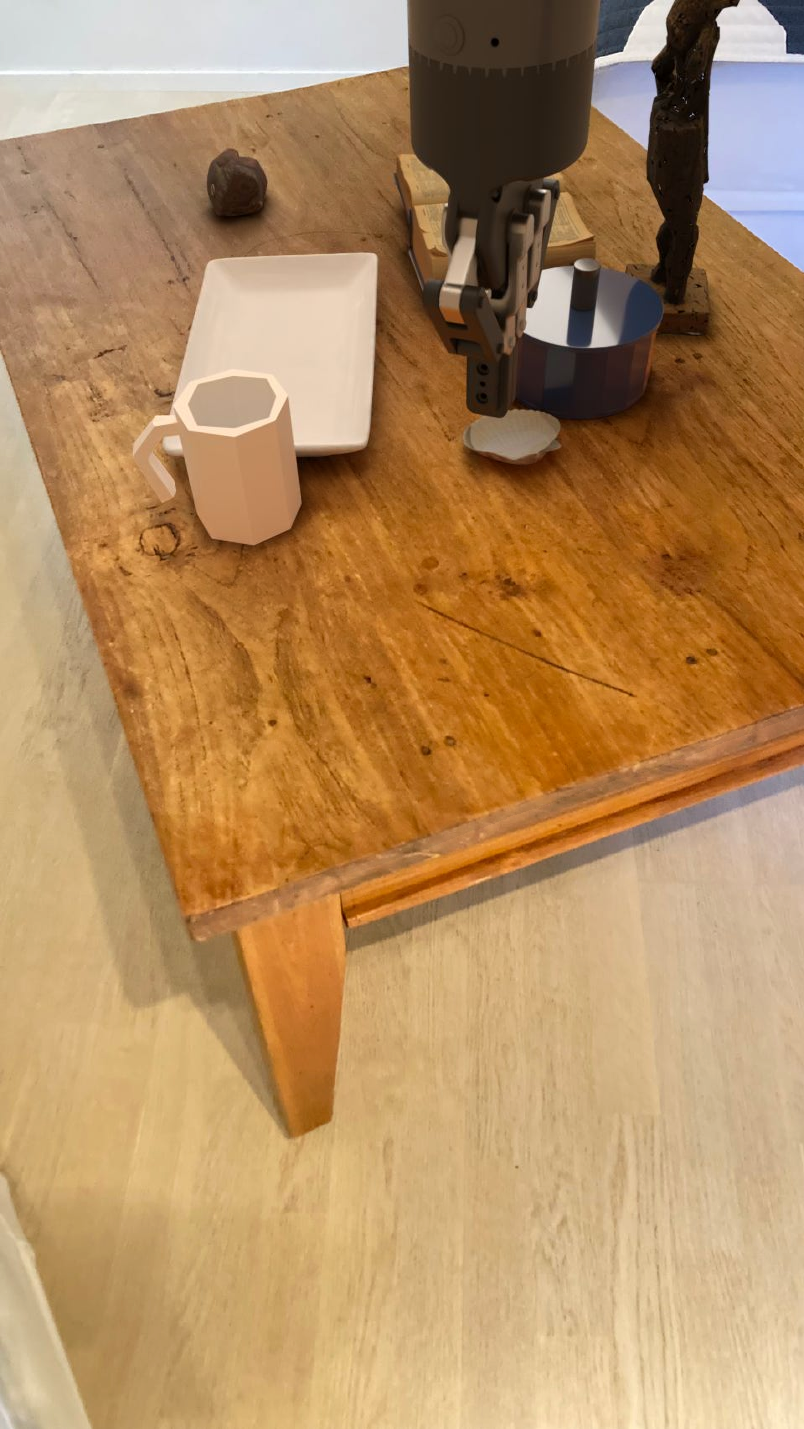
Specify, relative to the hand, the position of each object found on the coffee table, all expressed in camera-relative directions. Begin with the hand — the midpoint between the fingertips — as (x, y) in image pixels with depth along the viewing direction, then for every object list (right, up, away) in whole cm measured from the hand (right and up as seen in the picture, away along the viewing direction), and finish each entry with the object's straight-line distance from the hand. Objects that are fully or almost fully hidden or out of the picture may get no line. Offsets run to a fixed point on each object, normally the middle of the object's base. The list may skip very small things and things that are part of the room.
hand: (490, 407), depth 55 cm
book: (+4, +33, +56) cm, 65 cm away
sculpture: (+20, +23, +46) cm, 56 cm away
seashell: (+4, +6, +33) cm, 34 cm away
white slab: (-15, +15, +41) cm, 46 cm away
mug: (-19, 0, +29) cm, 34 cm away
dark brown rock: (-23, +40, +63) cm, 78 cm away
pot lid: (+11, +18, +34) cm, 40 cm away
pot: (+11, +14, +39) cm, 43 cm away
